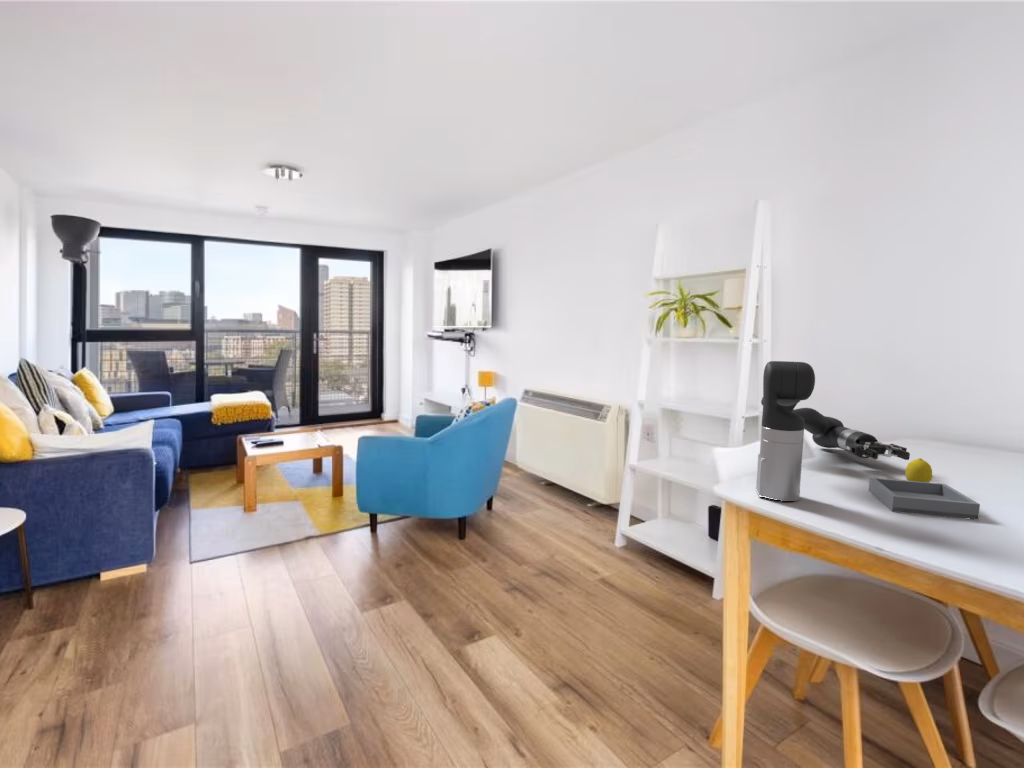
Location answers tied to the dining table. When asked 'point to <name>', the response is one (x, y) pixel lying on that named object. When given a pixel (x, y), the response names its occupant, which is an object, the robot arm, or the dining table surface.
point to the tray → (923, 498)
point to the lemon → (918, 471)
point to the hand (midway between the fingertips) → (892, 456)
